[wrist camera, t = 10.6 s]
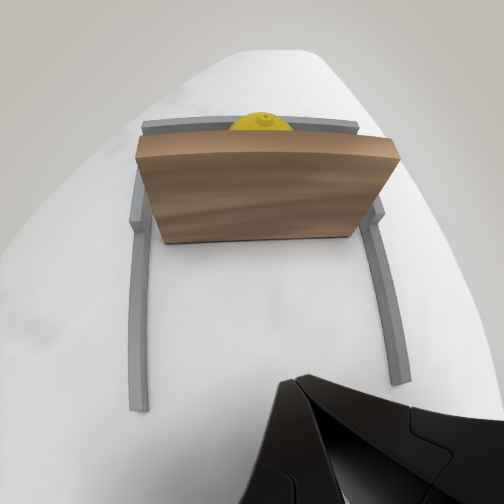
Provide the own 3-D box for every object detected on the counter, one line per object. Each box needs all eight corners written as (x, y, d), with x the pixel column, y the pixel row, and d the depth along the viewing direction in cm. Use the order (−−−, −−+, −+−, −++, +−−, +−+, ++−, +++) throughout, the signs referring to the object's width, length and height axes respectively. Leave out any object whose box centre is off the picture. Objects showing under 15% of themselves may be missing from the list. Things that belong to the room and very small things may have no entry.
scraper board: (350, 236, 23) (401, 158, 15) (164, 243, 22) (135, 157, 14) (345, 218, 24) (391, 138, 16) (165, 224, 23) (139, 135, 15)
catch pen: (400, 383, 19) (432, 377, 15) (136, 410, 17) (115, 412, 13) (344, 151, 28) (356, 121, 24) (150, 154, 26) (142, 121, 23)
